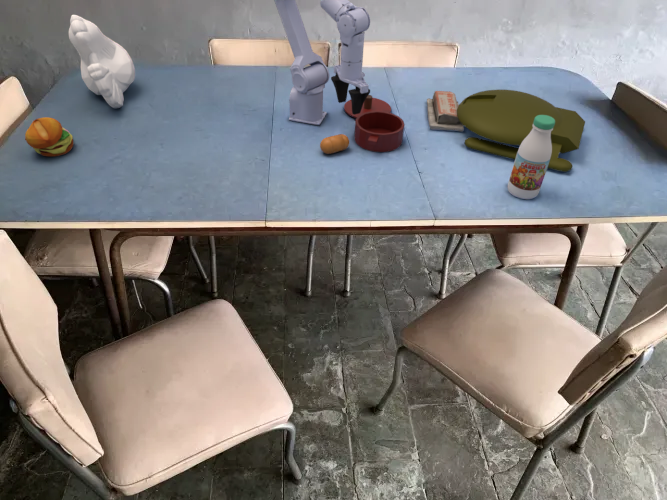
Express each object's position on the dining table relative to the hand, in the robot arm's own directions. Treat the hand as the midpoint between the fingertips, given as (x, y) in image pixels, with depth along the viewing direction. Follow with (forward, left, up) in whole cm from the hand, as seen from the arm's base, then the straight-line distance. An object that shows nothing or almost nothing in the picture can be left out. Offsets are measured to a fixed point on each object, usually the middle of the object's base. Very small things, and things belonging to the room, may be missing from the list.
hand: (349, 107), depth 150 cm
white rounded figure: (-75, -2, -9) cm, 76 cm away
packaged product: (+25, +21, -9) cm, 33 cm away
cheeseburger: (-71, -33, -9) cm, 79 cm away
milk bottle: (+49, -12, -9) cm, 51 cm away
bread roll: (-1, -9, -9) cm, 13 cm away
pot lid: (+2, +17, -8) cm, 19 cm away
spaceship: (+46, +17, -9) cm, 50 cm away
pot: (+9, +1, -9) cm, 12 cm away
